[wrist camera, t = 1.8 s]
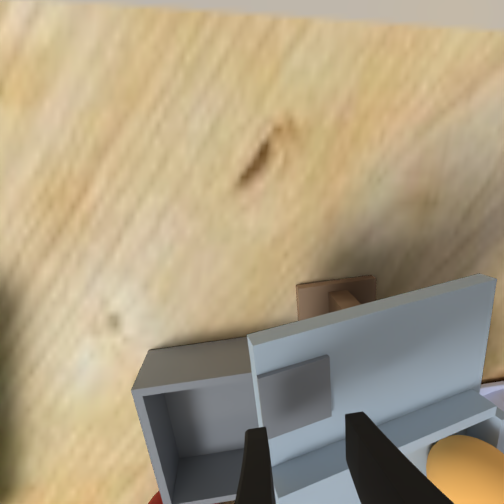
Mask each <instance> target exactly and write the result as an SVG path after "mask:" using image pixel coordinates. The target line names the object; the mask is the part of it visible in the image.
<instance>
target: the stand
mask: <svg viewBox="0 0 504 504" xmlns="http://www.w3.org/2000/svg"><path fill="white" fill-rule="evenodd" d="M296 295H297V310H298V321H301V320H304V319H308V318H312V317H316V316H320V315H323V314H327V313H331V312H335V311H339V310H342V309H346V308H350V307H354V306H358V305H361V304H365V303H369V302H373V301H376V278H375V277H374V276H372V275H368V276H360V277H353V278H345V279H338V280H330V281H323V282H315V283H308V284H300V285H296Z"/></svg>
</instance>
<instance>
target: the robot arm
mask: <svg viewBox="0 0 504 504" xmlns="http://www.w3.org/2000/svg"><path fill="white" fill-rule="evenodd" d="M479 394H480V395H482V396H483V397H485V398H486V399H488V400H489V401H491V402H492V403H493V404H495V405H496V406H497V407H498V408H499V409H501V410H502V411H504V381H500V382H493V383H487V384H481V387H480V393H479ZM345 444H346V462H347V465H348V468H349V471H350V474H351V477H352V480H353V483H354V486H355V489H356V491H357V494H358V497H359V500H360V502H361V504H454V503H453V502H452V501H451V500H450V499H449V498H448V497H447V496H446V495H445V494H444V493H442V492H441V491H440V490H439V489H438V488H437V487H436V486H435V485H434V484H433V483H432V482H431V481H430V480H429V479H428V478H427V477H426V476H425V475H424V474H423V473H422V472H421V471H420V470H419V469H418V468H417V467H416V466H415V465H414V464H413V463H412V462H411V461H410V460H409V459H408V458H407V457H406V456H405V455H404V454H403V453H402V452H401V451H400V450H399V449H398V448H397V447H396V446H395V445H394V444H393V443H392V442H391V441H390V440H389V439H388V438H387V436H386V435H385V434H384V433H383V432H382V431H381V430H380V429H379V428H378V427H377V426H376V425H375V423H374V422H373V421H372V420H371V419H370V418H369V417H368V416H367V414H366V413H364V412H363V411H362V412H356V413H349V414H345ZM234 504H276V500H275V491H274V483H273V475H272V466H271V458H270V449H269V443H268V436H267V430H266V427H259V428H253V429H248V430H247V431H246V432H245V442H244V453H243V461H242V467H241V473H240V479H239V484H238V489H237V494H236V499H235V503H234Z"/></svg>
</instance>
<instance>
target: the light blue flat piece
mask: <svg viewBox="0 0 504 504" xmlns="http://www.w3.org/2000/svg"><path fill="white" fill-rule="evenodd" d="M496 282H497V279H496V278H493V277H489V276H486V275H483V274H480V273H479V274H475V275H471V276H468V277H464V278H460V279H456V280H452V281H449V282H445V283H441V284H437V285H434V286H430V287H426V288H422V289H418V290H415V291H411V292H407V293H403V294H399V295H396V296H392V297H388V298H384V299H380V300H377V301H373V302H369V303H365V304H361V305H358V306H354V307H350V308H346V309H342V310H339V311H335V312H331V313H327V314H323V315H320V316H316V317H312V318H308V319H304V320H301V321H297V322H293V323H289V324H285V325H282V326H278V327H274V328H270V329H266V330H263V331H259V332H255V333H251V334H247V339H248V347H249V355H250V362H251V370H252V378H253V386H254V393H255V401H256V409H257V417H258V424H259V427H266V430H267V436H268V443H269V449H270V458H271V466H272V475H273V483H274V491H275V500H276V504H361V502H360V500H359V497H358V494H357V491H356V489H355V486H354V483H353V480H352V477H351V474H350V471H349V468H348V465H347V462H346V444H345V414H349V413H356V412H362V411H363V412H364V413H366V414H367V416H368V417H369V418H370V419H371V420H372V421H373V422H374V423H375V425H376V426H377V427H378V428H379V429H380V430H381V431H382V432H383V433H384V434H385V435H386V436H387V438H388V439H389V440H390V441H391V442H392V443H393V444H394V445H395V446H396V447H397V448H398V449H399V450H400V451H401V452H402V453H403V454H404V455H405V456H406V457H407V458H408V459H409V460H410V461H411V462H412V463H413V464H414V465H415V466H416V467H417V468H418V469H419V470H420V471H421V472H422V473H423V474H424V475H425V476H426V477H427V474H426V463H427V457H428V454H429V452H430V450H431V448H432V447H433V446H434V445H435V444H436V443H437V442H438V441H439V440H441V439H443V438H445V437H448V436H452V435H465V436H471V437H475V438H478V439H480V440H483V441H485V442H487V443H489V444H491V445H492V446H494V447H495V448H497V449H498V450H500V451H501V452H502V453H503V454H504V411H502V410H501V409H499V408H498V407H497V406H496V405H495V404H493V403H492V402H491V401H489V400H488V399H486V398H485V397H483V396H482V395H480V394H479V393H480V387H481V380H482V374H483V367H484V360H485V354H486V347H487V341H488V334H489V328H490V321H491V314H492V308H493V301H494V295H495V288H496Z"/></svg>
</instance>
